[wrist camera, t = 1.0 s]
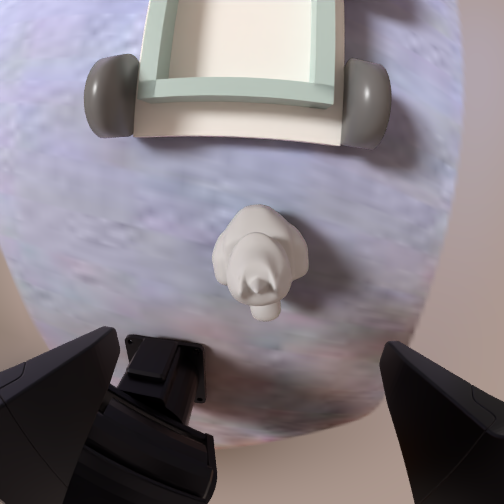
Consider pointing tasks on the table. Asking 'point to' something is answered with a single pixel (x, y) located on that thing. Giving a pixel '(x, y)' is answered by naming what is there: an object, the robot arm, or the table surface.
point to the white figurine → (260, 259)
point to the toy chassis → (241, 76)
